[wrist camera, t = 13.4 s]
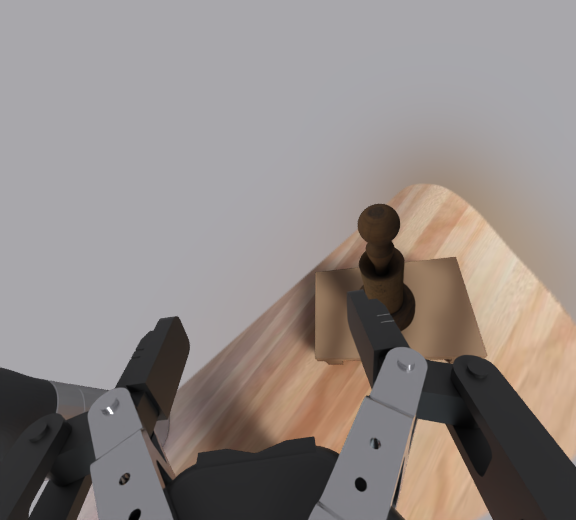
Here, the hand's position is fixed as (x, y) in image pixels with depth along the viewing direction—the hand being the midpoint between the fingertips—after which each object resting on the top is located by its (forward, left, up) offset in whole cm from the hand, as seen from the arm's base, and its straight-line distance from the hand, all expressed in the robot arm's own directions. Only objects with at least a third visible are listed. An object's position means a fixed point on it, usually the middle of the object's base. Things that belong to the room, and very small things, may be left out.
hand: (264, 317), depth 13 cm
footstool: (+6, +9, -28) cm, 30 cm away
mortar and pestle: (+6, +9, -22) cm, 25 cm away
